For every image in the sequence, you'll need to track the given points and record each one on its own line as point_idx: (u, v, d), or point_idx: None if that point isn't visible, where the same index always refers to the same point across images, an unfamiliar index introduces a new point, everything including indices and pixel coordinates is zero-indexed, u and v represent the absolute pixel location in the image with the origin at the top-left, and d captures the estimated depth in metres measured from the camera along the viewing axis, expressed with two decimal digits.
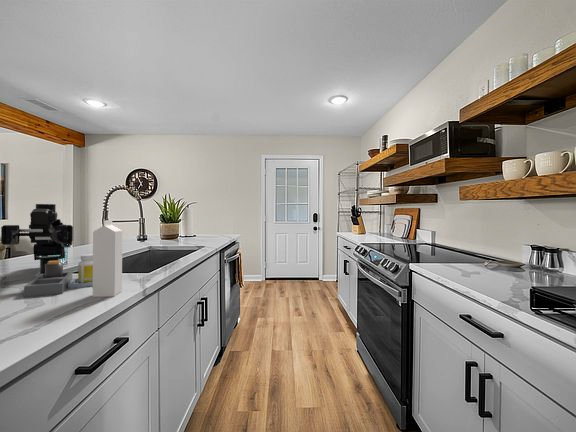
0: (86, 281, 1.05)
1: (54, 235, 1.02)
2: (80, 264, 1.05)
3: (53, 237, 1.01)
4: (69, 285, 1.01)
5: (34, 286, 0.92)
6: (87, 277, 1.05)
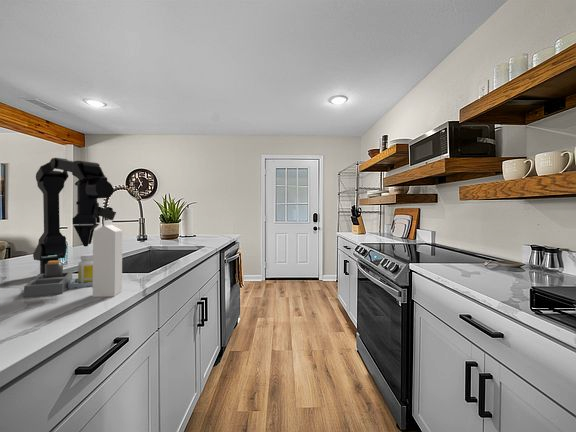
0: (86, 281, 1.05)
1: None
2: (80, 264, 1.05)
3: None
4: (69, 285, 1.01)
5: (34, 286, 0.92)
6: (87, 277, 1.05)
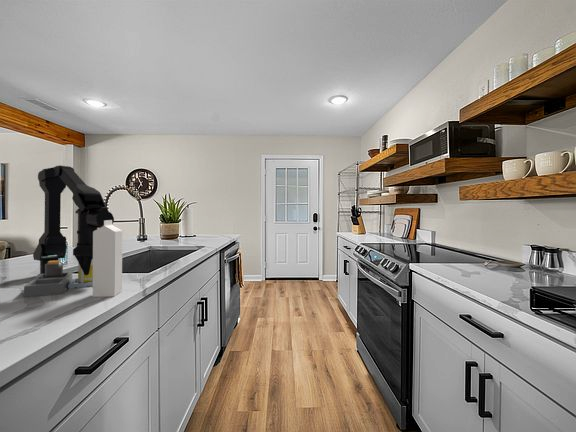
0: (86, 281, 1.05)
1: None
2: None
3: None
4: (69, 285, 1.01)
5: (34, 286, 0.92)
6: (87, 277, 1.05)
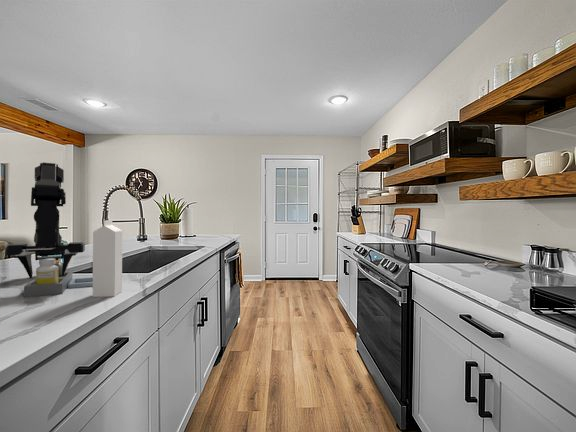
0: None
1: None
2: (53, 269, 0.96)
3: None
4: (69, 285, 1.01)
5: (34, 286, 0.92)
6: None
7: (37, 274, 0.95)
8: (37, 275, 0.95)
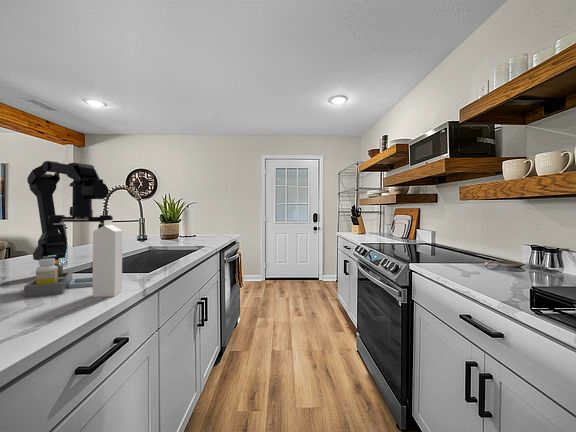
0: None
1: (64, 240, 1.10)
2: (53, 269, 0.96)
3: (64, 241, 1.09)
4: (69, 285, 1.01)
5: (34, 286, 0.92)
6: None
7: (37, 274, 0.95)
8: (37, 275, 0.95)
